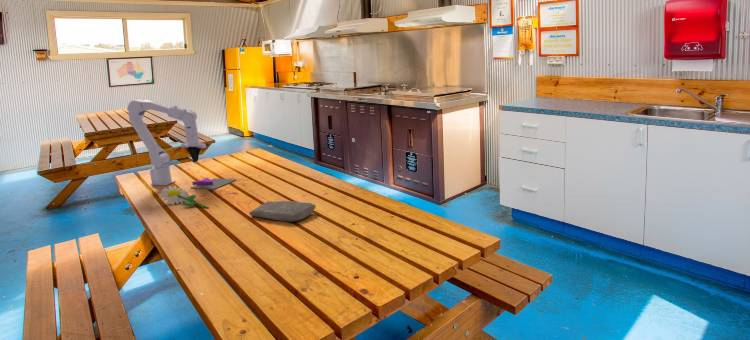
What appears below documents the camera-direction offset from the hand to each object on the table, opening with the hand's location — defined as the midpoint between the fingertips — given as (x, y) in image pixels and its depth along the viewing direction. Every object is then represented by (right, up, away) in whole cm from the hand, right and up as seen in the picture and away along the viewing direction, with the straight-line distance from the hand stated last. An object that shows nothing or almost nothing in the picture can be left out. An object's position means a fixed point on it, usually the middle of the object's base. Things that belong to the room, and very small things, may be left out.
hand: (195, 161), depth 266 cm
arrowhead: (+3, -10, -3) cm, 11 cm away
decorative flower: (+9, -20, -37) cm, 43 cm away
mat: (+11, -11, -6) cm, 17 cm away
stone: (+55, -23, -62) cm, 85 cm away
